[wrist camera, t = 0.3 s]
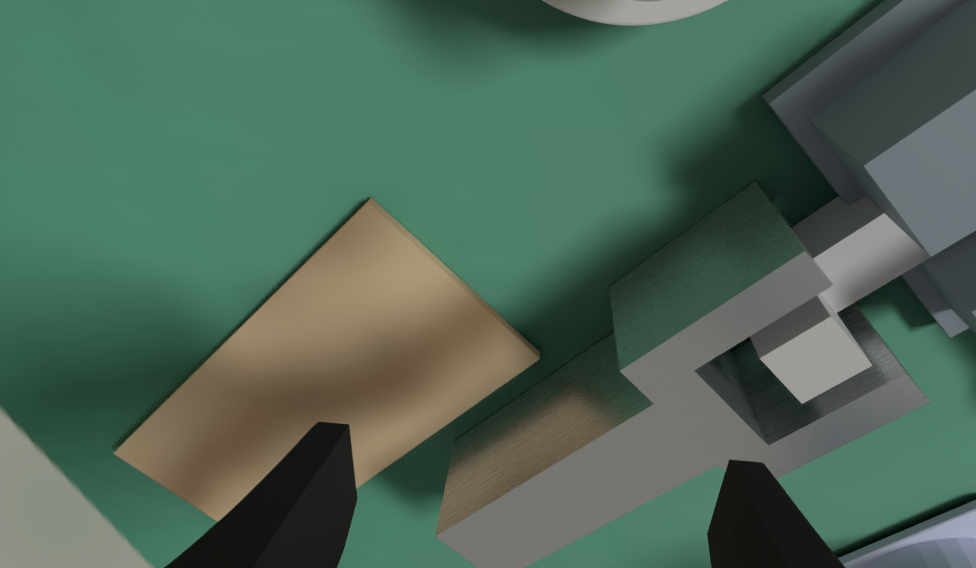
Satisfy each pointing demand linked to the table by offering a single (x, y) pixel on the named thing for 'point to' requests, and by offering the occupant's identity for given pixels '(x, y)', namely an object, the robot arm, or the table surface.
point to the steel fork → (665, 395)
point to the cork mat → (332, 368)
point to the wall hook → (633, 10)
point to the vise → (882, 180)
